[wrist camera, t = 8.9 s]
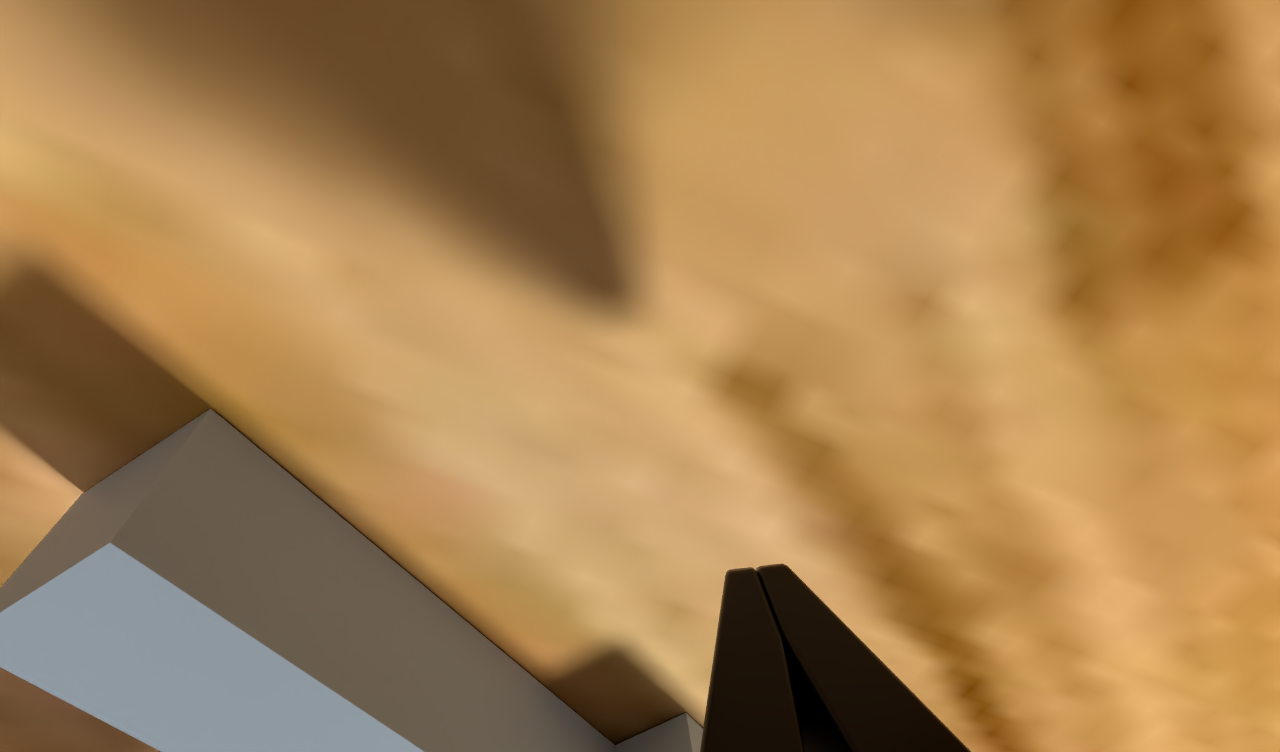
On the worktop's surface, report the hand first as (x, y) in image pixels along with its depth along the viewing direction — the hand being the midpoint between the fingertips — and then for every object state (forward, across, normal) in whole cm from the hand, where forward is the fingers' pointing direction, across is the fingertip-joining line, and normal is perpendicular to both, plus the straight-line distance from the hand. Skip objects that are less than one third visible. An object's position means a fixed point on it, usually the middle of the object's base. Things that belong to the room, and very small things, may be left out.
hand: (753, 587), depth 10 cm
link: (+3, +5, +7) cm, 9 cm away
